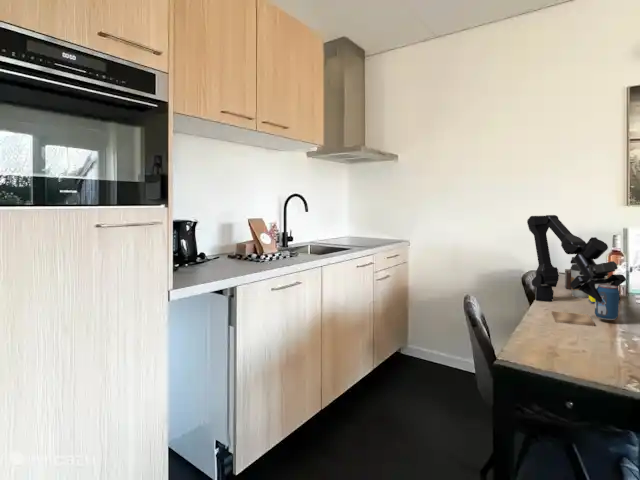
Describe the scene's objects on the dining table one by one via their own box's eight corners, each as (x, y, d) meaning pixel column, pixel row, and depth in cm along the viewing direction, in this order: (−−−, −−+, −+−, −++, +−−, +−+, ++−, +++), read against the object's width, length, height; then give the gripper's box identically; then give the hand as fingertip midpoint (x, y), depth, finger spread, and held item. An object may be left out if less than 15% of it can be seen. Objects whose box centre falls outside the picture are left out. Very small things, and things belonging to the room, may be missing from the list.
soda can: (616, 316, 140) (618, 284, 139) (619, 321, 134) (621, 288, 133) (593, 313, 144) (595, 283, 143) (595, 318, 138) (597, 286, 137)
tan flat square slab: (555, 321, 140) (555, 319, 139) (551, 313, 150) (551, 311, 150) (594, 325, 134) (594, 323, 134) (587, 317, 145) (588, 314, 145)
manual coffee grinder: (592, 291, 188) (593, 255, 187) (566, 289, 194) (567, 254, 192) (587, 285, 202) (588, 252, 201) (563, 283, 207) (564, 251, 206)
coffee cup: (595, 298, 174) (596, 266, 173) (576, 298, 174) (578, 266, 173) (582, 294, 182) (584, 263, 181) (565, 294, 182) (566, 263, 181)
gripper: (577, 254, 140) (600, 290, 130) (623, 253, 142) (649, 288, 132) (561, 271, 149) (581, 306, 139) (604, 270, 150) (627, 304, 140)
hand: (610, 301), depth 137 cm, fingers closed on soda can, 7 cm apart
